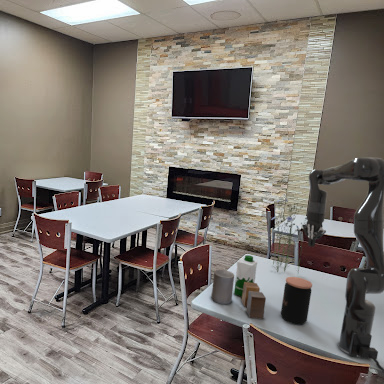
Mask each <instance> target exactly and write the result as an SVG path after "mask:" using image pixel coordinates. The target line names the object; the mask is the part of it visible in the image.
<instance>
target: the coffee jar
mask: <svg viewBox="0 0 384 384" xmlns="http://www.w3.org/2000/svg"><path fill="white" fill-rule="evenodd" d="M312 287H313V283H312V282H311V281H309V280H308V279H305V278H302V277H298V276H287V277H286V278H285V284H284V288H283V296H282V302H281V309H280V315H281V317H282V319H283V320H284V321H286V322H287V323H289V324H293V325H297V326H301V325H305V324H306V323H307V322H308V316H309V311H310V310H309V309H310V303H311V296H312Z"/></svg>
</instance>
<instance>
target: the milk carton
mask: <svg viewBox="0 0 384 384" xmlns="http://www.w3.org/2000/svg"><path fill="white" fill-rule="evenodd" d="M257 266H258V261H256V260H254V256H252V255H250V254H249V255H248V254H247V255H244V257H242V258H240V259H239V260H237V261H236V273H235V274H236V275H235V280H234V290H233V291H234V292H233V295H235V296H238V297H240V298H242V295H243V286H244V282H249V283H256V275H257Z"/></svg>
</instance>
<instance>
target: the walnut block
mask: <svg viewBox="0 0 384 384" xmlns="http://www.w3.org/2000/svg"><path fill="white" fill-rule="evenodd" d="M266 299H267V298H266V296H265V295H264V293H263V292H262V291H259V292H255V291H249V293H248V301H247V307H246V314H247V315H248V318H251V319H258V320H259V319H260V320H264V315H265V308H266Z"/></svg>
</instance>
